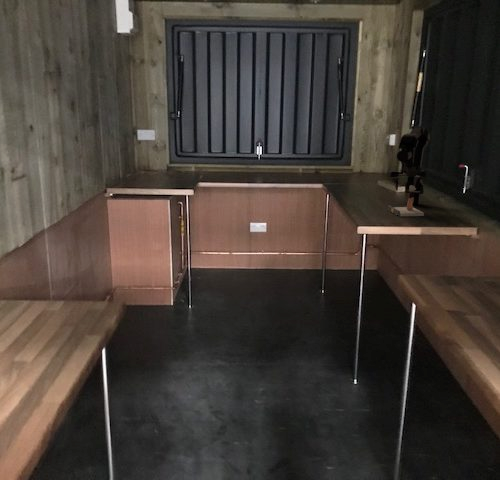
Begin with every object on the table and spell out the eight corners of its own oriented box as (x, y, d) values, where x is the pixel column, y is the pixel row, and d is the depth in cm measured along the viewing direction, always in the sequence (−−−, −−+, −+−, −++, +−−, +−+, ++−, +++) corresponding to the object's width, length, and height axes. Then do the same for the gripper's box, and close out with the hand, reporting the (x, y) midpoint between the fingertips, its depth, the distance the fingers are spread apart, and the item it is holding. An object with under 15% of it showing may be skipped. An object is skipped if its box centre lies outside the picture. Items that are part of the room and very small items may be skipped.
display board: (387, 210, 263) (387, 205, 263) (412, 209, 264) (412, 205, 264) (397, 216, 249) (397, 211, 248) (423, 215, 250) (424, 210, 249)
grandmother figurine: (404, 208, 260) (405, 184, 256) (411, 208, 260) (413, 184, 256) (408, 211, 252) (410, 186, 249) (416, 211, 252) (418, 186, 249)
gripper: (395, 162, 248) (393, 193, 253) (432, 161, 250) (429, 192, 254) (387, 159, 259) (385, 189, 263) (423, 159, 260) (420, 189, 265)
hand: (405, 190), depth 261 cm, fingers open, 9 cm apart
